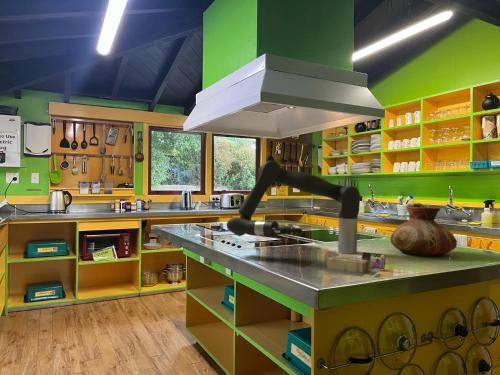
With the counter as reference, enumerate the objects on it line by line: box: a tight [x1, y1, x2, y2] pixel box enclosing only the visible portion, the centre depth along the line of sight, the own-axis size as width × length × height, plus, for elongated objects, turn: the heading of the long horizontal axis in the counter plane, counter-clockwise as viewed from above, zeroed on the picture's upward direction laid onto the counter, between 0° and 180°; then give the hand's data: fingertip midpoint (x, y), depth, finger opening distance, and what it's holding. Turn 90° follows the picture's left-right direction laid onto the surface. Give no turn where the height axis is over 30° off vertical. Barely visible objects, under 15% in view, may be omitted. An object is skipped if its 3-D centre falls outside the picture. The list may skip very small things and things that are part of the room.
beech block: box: [326, 255, 371, 275], centre depth 148 cm, size 6×4×15 cm
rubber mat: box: [303, 260, 374, 277], centre depth 150 cm, size 16×24×1 cm
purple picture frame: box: [361, 251, 387, 272], centre depth 153 cm, size 7×5×9 cm
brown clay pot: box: [389, 202, 458, 258], centre depth 189 cm, size 30×30×25 cm
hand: (301, 231), depth 159 cm, fingers closed
